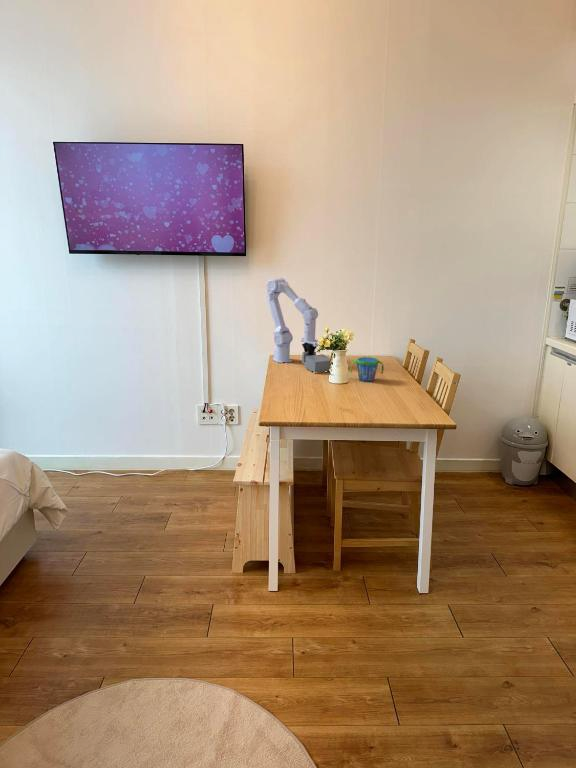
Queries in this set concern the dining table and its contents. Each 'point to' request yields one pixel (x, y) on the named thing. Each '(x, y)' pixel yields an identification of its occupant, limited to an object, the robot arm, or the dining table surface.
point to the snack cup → (367, 368)
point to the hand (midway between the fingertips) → (309, 357)
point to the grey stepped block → (316, 362)
